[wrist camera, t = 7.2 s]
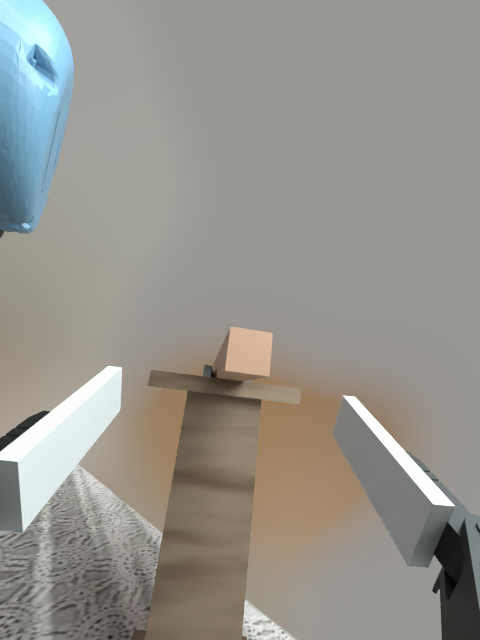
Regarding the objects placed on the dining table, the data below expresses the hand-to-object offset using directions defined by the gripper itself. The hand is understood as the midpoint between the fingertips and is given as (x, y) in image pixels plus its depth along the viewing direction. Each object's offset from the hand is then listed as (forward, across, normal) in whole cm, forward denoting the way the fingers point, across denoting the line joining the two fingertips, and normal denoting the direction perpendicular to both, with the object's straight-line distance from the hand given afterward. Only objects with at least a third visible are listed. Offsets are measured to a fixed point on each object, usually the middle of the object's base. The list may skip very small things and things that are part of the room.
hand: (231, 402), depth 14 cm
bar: (+12, 0, +5) cm, 13 cm away
